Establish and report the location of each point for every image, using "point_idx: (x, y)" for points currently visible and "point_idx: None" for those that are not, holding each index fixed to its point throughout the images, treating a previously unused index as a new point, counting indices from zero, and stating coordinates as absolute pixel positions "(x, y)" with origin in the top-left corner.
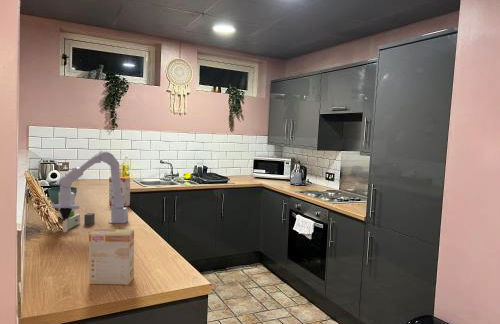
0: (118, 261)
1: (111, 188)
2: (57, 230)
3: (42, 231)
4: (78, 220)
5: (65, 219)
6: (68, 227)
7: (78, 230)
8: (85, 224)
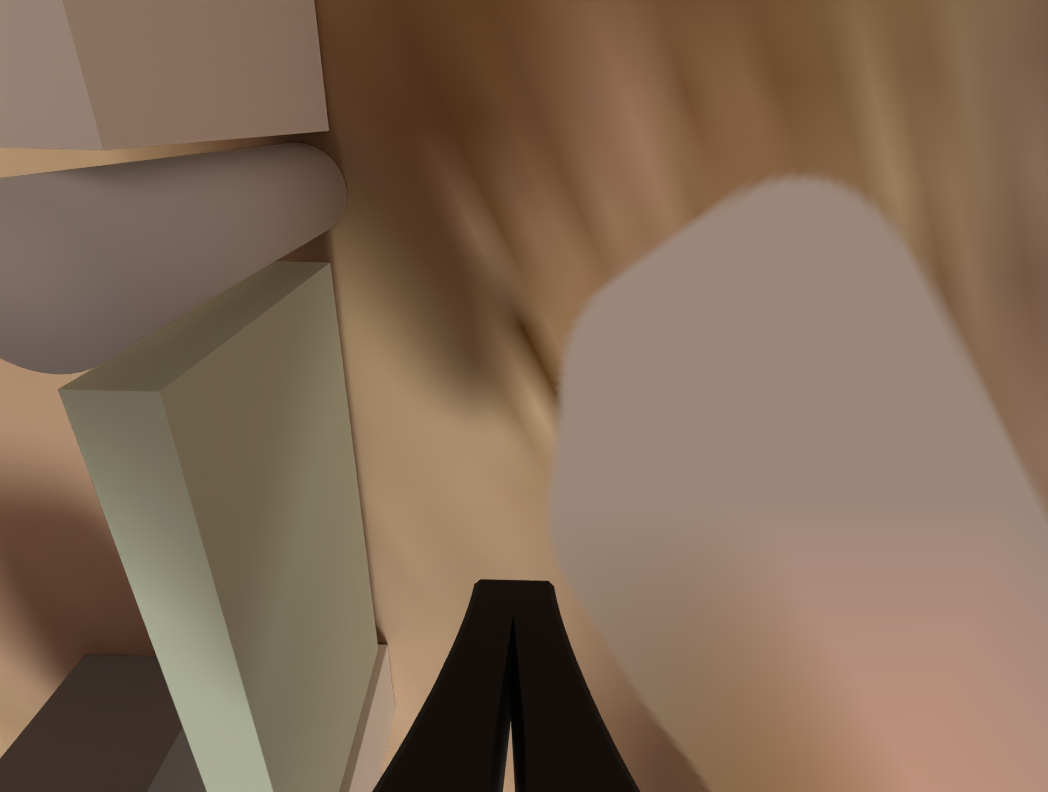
0: None
1: None
2: (585, 197)
3: (1004, 29)
4: None
5: (41, 197)
6: (265, 277)
7: None
8: None
